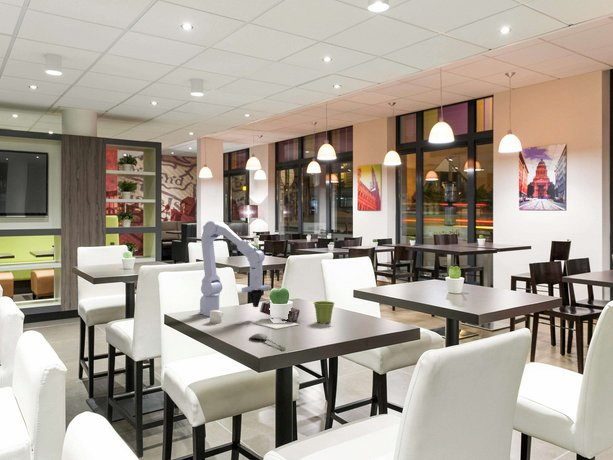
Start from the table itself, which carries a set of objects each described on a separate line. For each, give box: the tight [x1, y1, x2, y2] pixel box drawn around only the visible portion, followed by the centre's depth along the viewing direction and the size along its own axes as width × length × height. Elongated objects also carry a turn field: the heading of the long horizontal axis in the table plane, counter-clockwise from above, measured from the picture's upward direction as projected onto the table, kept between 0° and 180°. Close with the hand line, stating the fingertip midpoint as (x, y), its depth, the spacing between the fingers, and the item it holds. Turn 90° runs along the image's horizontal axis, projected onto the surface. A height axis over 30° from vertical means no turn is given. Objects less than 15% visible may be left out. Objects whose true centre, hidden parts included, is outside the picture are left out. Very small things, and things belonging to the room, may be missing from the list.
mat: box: [250, 318, 300, 330], centre depth 212 cm, size 17×13×1 cm
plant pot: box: [313, 300, 335, 324], centre depth 217 cm, size 9×9×9 cm
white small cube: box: [209, 309, 223, 324], centre depth 214 cm, size 5×5×5 cm
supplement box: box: [259, 299, 300, 323], centre depth 219 cm, size 9×5×16 cm
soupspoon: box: [248, 333, 286, 351], centre depth 179 cm, size 22×3×7 cm
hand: (255, 306), depth 222 cm, fingers closed
